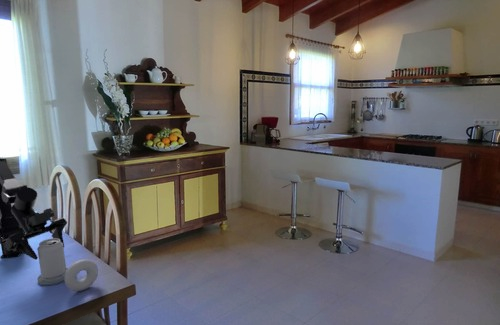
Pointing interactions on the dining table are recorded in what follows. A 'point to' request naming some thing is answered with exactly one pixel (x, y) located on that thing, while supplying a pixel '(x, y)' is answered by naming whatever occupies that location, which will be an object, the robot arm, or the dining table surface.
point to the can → (51, 258)
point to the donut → (86, 282)
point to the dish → (51, 280)
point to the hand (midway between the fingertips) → (50, 253)
